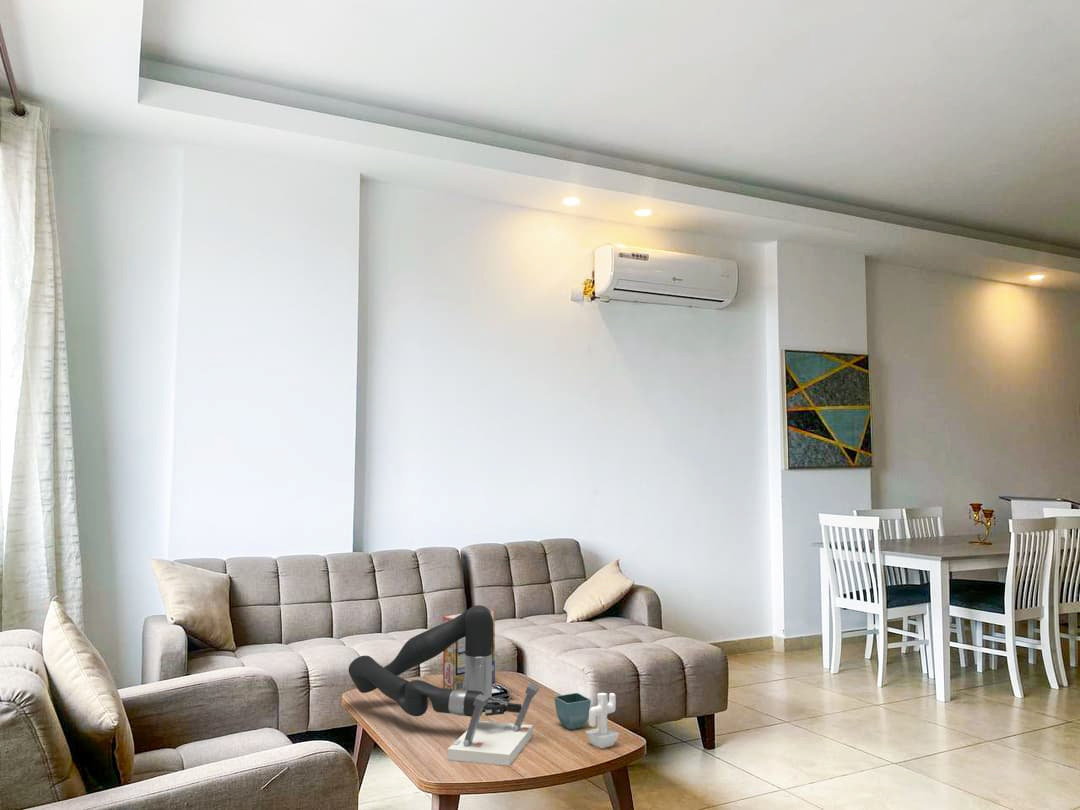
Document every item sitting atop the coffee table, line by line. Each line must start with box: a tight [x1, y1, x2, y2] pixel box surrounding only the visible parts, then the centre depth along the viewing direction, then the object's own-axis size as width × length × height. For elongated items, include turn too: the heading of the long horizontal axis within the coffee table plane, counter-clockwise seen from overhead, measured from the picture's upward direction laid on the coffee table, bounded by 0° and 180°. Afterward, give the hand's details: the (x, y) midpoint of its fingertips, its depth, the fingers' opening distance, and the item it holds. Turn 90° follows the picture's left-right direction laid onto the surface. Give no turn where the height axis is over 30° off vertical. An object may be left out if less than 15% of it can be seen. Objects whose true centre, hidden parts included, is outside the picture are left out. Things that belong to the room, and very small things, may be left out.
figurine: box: [584, 692, 620, 749], centre depth 245 cm, size 7×9×15 cm
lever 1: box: [463, 694, 489, 746], centre depth 236 cm, size 4×3×14 cm, turn 166°
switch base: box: [447, 720, 534, 767], centre depth 243 cm, size 26×18×3 cm
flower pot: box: [553, 692, 592, 730], centre depth 261 cm, size 9×9×9 cm
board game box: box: [442, 609, 496, 690], centre depth 306 cm, size 20×6×27 cm, turn 135°
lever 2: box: [513, 682, 540, 731], centre depth 249 cm, size 4×3×14 cm, turn 166°
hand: (520, 708), depth 249 cm, fingers closed
